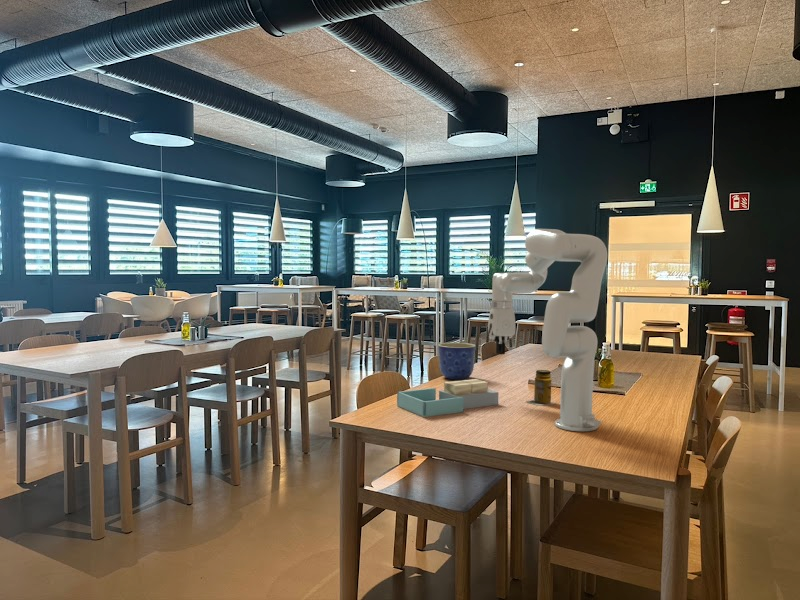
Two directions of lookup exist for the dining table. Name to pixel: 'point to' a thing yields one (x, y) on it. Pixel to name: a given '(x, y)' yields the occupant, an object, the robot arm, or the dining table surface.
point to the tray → (428, 403)
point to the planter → (456, 360)
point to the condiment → (542, 388)
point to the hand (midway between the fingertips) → (500, 353)
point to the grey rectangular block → (474, 398)
